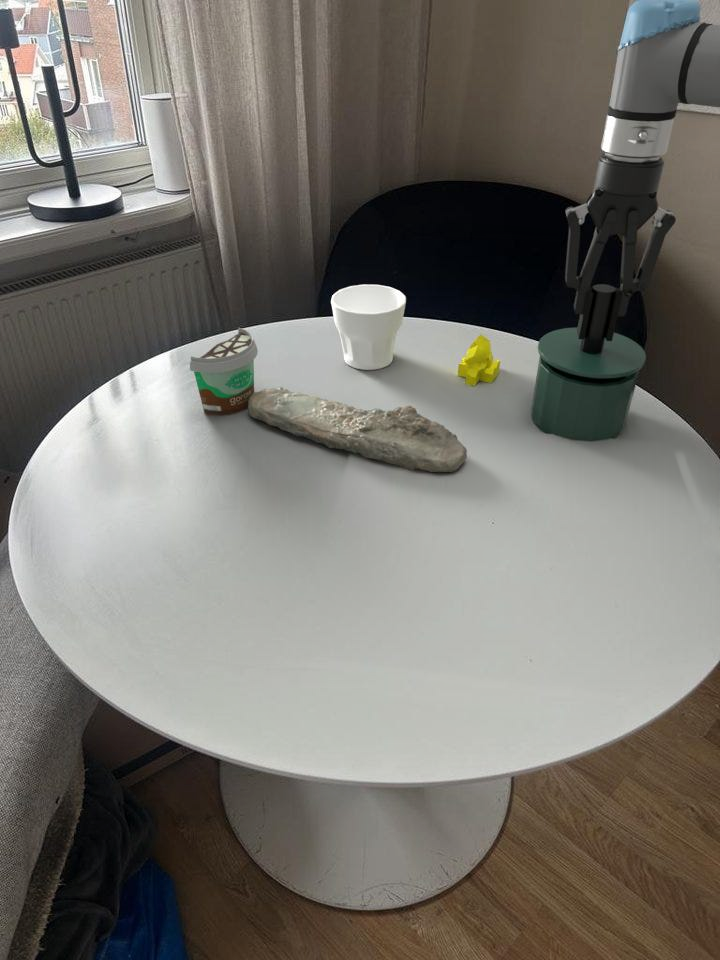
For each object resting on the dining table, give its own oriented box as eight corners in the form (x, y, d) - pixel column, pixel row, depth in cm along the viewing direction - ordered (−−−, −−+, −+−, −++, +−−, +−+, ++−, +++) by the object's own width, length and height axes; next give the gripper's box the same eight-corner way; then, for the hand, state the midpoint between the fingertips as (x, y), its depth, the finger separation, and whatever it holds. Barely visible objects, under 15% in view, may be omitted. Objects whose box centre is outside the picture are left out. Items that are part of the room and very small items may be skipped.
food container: (229, 427, 105) (221, 367, 99) (197, 416, 108) (187, 357, 102) (277, 391, 114) (272, 334, 108) (247, 382, 116) (240, 326, 110)
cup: (380, 337, 129) (380, 278, 123) (418, 364, 121) (421, 303, 114) (320, 353, 124) (317, 293, 118) (355, 383, 116) (354, 320, 109)
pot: (617, 399, 111) (630, 344, 105) (630, 447, 100) (646, 389, 95) (529, 393, 113) (538, 338, 107) (532, 440, 102) (542, 382, 96)
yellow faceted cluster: (502, 367, 120) (507, 325, 115) (487, 388, 114) (492, 345, 109) (469, 360, 122) (473, 318, 117) (453, 381, 116) (456, 337, 111)
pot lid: (635, 337, 105) (651, 271, 99) (652, 386, 94) (672, 313, 88) (534, 331, 107) (545, 266, 101) (539, 378, 95) (551, 307, 89)
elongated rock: (272, 400, 114) (236, 433, 107) (267, 372, 111) (229, 403, 104) (477, 447, 99) (450, 489, 93) (478, 416, 96) (450, 456, 89)
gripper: (565, 160, 82) (536, 344, 96) (710, 164, 80) (658, 351, 94) (561, 146, 88) (534, 321, 102) (695, 149, 86) (649, 328, 100)
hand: (594, 335), depth 98 cm, fingers closed on pot lid, 3 cm apart
